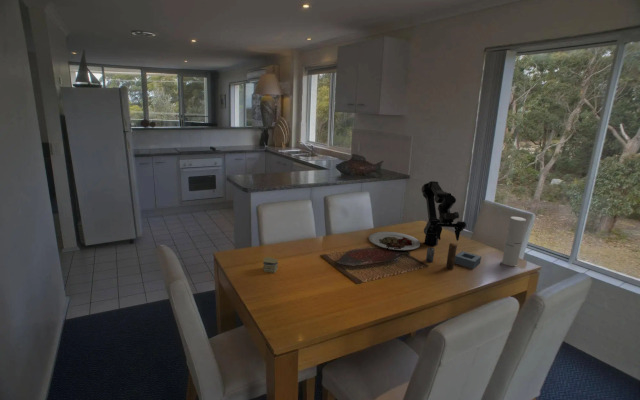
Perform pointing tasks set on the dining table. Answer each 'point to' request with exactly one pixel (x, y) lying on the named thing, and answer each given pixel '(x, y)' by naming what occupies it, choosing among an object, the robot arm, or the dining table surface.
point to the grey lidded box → (270, 264)
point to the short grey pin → (430, 254)
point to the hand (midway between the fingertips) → (448, 240)
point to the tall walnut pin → (451, 255)
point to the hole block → (467, 259)
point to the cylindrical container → (513, 241)
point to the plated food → (394, 240)
